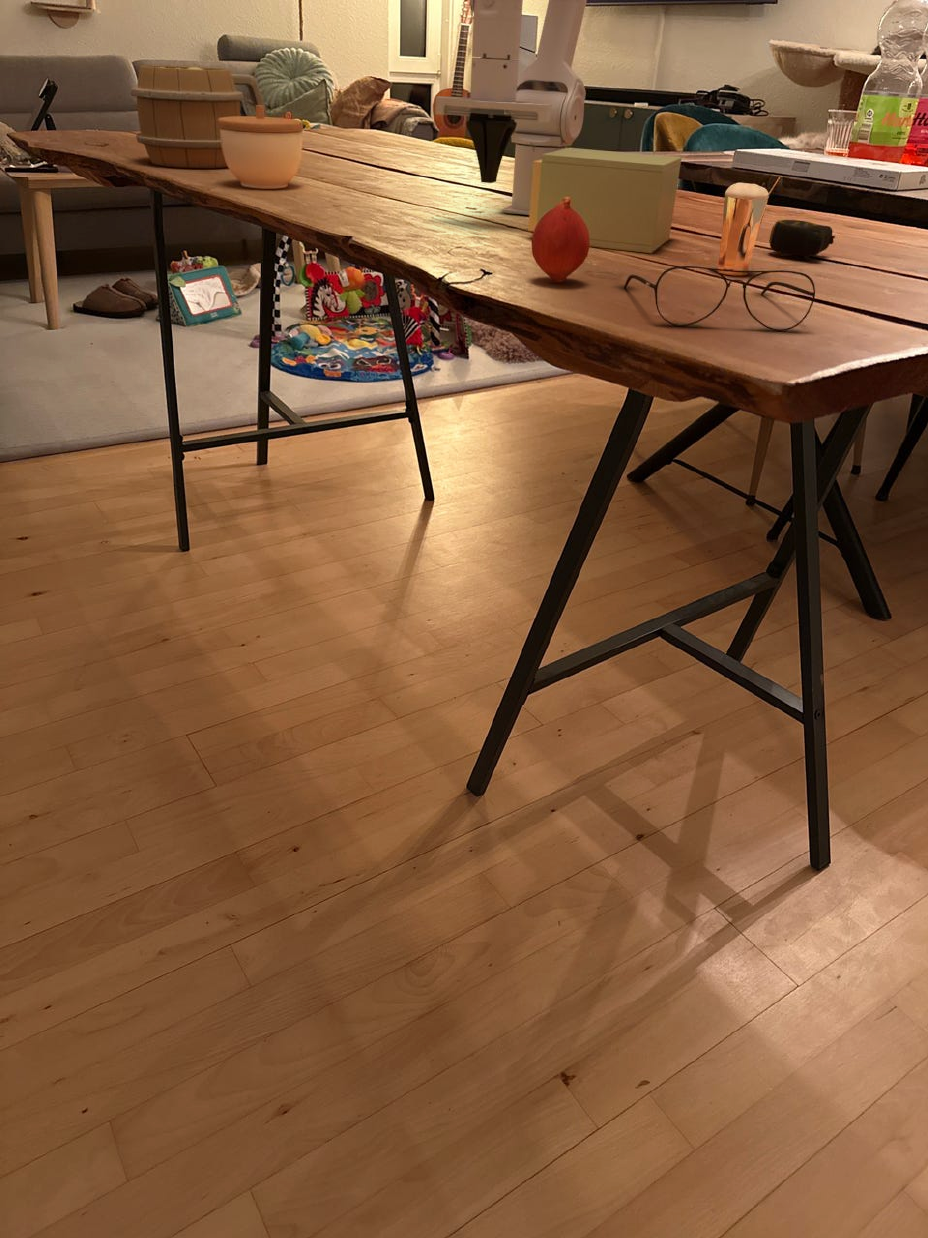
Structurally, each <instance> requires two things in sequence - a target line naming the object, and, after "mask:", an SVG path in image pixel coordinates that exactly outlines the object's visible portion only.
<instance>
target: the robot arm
mask: <svg viewBox="0 0 928 1238" xmlns="http://www.w3.org/2000/svg"><path fill="white" fill-rule="evenodd" d="M523 1H524V0H469V2H468V3H469V10H470V13H471V12H472V13H473V19H472V20H473V21H472V40H471V41H472V42H471V43H472V44H471V48H472V49H471V64H470V65H471V66H470V67H471V69H470V70H471V71H470V72H471V73H470V88H469V89H470V90H469V97H461V96H459V97H458V96H442V95H441V96H436V97H435V115H444V116H445V115H448V116H449V115H451V116H463V117H464V116H465V117H469V118H468V120H466V129H467V131H468V133H469V135H470V138H471V140H472V144H473V147H474V149H475V153H476V158H477V162H478V166H479V174H480V175H479V176H480V182H481V183H485V184H493V183H496V182H497V178H498V175H499V174H498V173H499V169H500V166H501V162H502V159H503V156H504V153H505V151H506V149H507V146H508V144H509V142H510V140H511V143H515V151H514V164H513V165H514V167H513V179H512V180H513V181H512V193H511V194H512V195H511V205H509V206H506V207H503V208H502V209H501V212H502V213H506V214H514V215H516V214H517V215H525V216H529V213H530V201H531V188H532V175H533V162H534V161H537V160H541V159H542V154H546V153H550V152H554V151H558V150H562V149H566V148H568V147H570V146H572V145H573V143H574V142H575V141H576V139H577V138H578V137H579V135H580V133H581V131H582V127H583V123H584V113H585V112H584V111H585V101H586V100H585V99H586V95H587V93H586V88H585V85H584V82H583V81H582V79H581V78H580V77H579V76H578V74H577V73H576V72H575V71H574V70H573V68H572V66H573V62H574V59H575V58H574V57H575V55H576V54H575V53H576V49H577V45H578V41H579V36H580V32H581V29H582V28H581V27H582V24H583V23H582V22H583V18H584V14H585V9H586V5H587V2H588V0H548V3H547V8H546V14H545V17H544V21H543V26H542V30H541V35H540V40H539V44H538V48H537V52H536V57H535V60H533V62H531V63H530V64H528V65H527V66H525V67H524V68H523V69H521V70H520V71H519V61H520V60H519V59H520V48H521V47H520V46H521V31H522V15H523ZM481 109H483V110H501V111H502V110H503V111H504V113H499V112H498V113H495V112H484V111H480V110H481Z"/></svg>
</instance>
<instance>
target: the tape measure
mask: <svg viewBox="0 0 928 1238" xmlns="http://www.w3.org/2000/svg"><path fill="white" fill-rule="evenodd" d="M833 233H834V231H833V228H832V227H831V226H829V225H824V224H823V225H822V224H818V223H815V222H811V221H808V220H807V221H805V220H797V219H780V220H779V219H778V220H777V221H776V222H775V223H774V225H773V226H772V228H771V232H770V235H769V241H768V243H769V247H770V249H771V250H772V251H775V252H777V253H779V256H780V257H782V256H783V257H785V256H801V257H802V256H803V257H804V258H806V259H810V256H811V257H812V256H817V255H818V254H819V253H822V252H824V251H826V250H827V249H828V248H829V247H830V245H833V244H834V239H835V238H836V235H833Z"/></svg>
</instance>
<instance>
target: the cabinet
mask: <svg viewBox="0 0 928 1238" xmlns="http://www.w3.org/2000/svg"><path fill="white" fill-rule="evenodd" d="M681 164H682V157H679V156H671V155H669V156H668V155H659V154H648V153H647V154H646V153H634V152H624V151H614V150H613V151H610V150H601V149H600V150H599V149H589V148H588V149H587V148H579V147H578V148H577V147H576V148H575V147H567V148H566V149H562V150H558V151H554V152H550V153H546V154H542V165H541V177H540V189H539V201H538V214H537V224H538V222H539V221H540V219H541V218H542V217H543V216H544V215H545V214H546V213H547V212H549V211H550V210H551V209H553V208H555V207H556V206H557V205H558V204H559V203H560V202H561V201H562V200H563V198H566V197H570V199H571V207H572V209H573V210H574V211H575V212H577V213H578V214H579V215H580V217H581V218H582V219H583V221H584V223H585V224H586V227H587V229H588V232H589V237H590V248H592V247H593V248H600V249H601V248H602V249H609V250H616V251H617V250H619V251H626V252H634V253H635V252H636V253H644V254H653V253H654V252H655V251H656V250H657V249H659V248H660V247H662V246H663V245H664V244H665V243H666V242H667V241H669V240H670V235H671V230H672V224H673V216H674V209H675V203H676V196H677V189H678V185H679V177H680V171H681Z"/></svg>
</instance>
